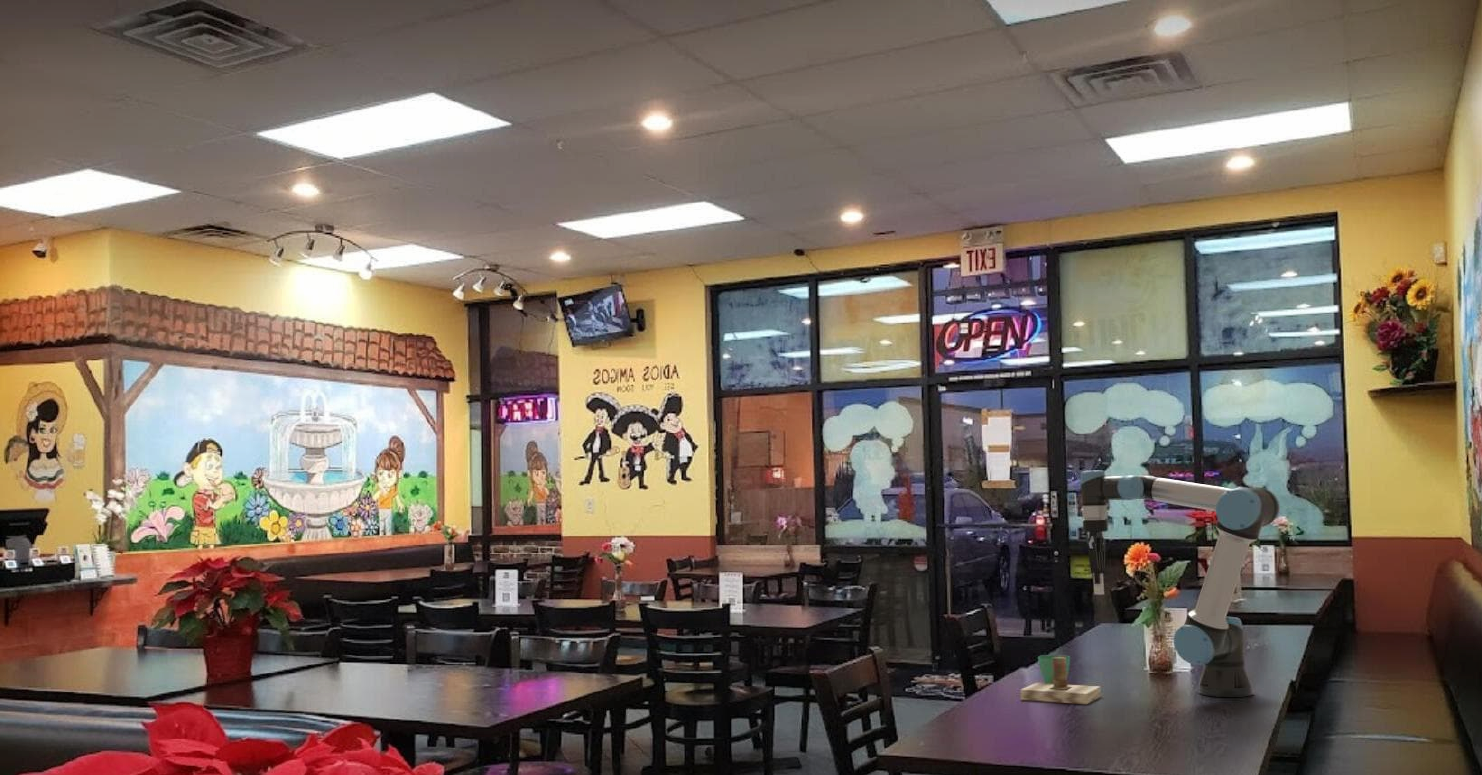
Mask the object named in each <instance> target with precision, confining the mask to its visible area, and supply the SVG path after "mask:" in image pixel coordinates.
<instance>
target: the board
mask: <svg viewBox="0 0 1482 775" xmlns="http://www.w3.org/2000/svg"><path fill="white" fill-rule="evenodd" d="M1067 687H1068V688H1067V689H1068V690H1058V689H1054V684H1049V683H1045V682H1034V683H1033V684H1030V685H1028V686H1026V687H1023V688H1021V689H1020V699H1021V701H1037V702H1047V703H1048V702H1049V703H1065V704H1078V705H1088V704H1090V703H1092V702H1093V701H1096V700H1098V699H1100V698H1101V697H1102V692H1101V691H1102V689H1101V686H1097V685H1096V686H1095V685H1084V684H1083V685H1081V684H1080V685H1079V684H1067Z"/></svg>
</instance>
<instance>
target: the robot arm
mask: <svg viewBox="0 0 1482 775" xmlns="http://www.w3.org/2000/svg"><path fill="white" fill-rule="evenodd" d="M1079 485H1080V486H1079V487H1080V494H1081V496H1080V497H1081V509H1080V512H1081V513H1082V518H1083V520H1082V531H1083V532H1085V533H1088V538H1087V542H1086V547H1087V554H1088V562H1089V568H1090V569H1089V570H1090V571H1089V573H1090V574H1092V577H1093V595H1100V596H1101V595H1105V587H1104V586H1105V585H1104V582H1105V581H1104V574H1106V573H1107V572H1106V544H1107V543H1106V542H1107V541H1106V539H1105V538H1104V536H1103V535H1104V534H1103V533H1104V532H1107V531H1109V525H1108V524H1109V523H1108V520H1107V518H1108V506H1107V501H1134V500H1146V501H1153V502H1159V503H1166V504H1171V505H1176V506H1177V505H1178V506H1182V507H1189V508H1194V509H1195V508H1196V509H1200V510H1206V511H1212V512H1215V515H1216V517H1217V521H1216V524H1215V528H1216V530H1217V532H1218V537H1217V540H1216V543H1215V545H1214V546H1215V547H1214V550H1213V552H1212V556H1211V558H1210V562H1209V565H1208V568H1207V571H1206V574H1205V578H1204V580H1203V583H1202V587H1201V590H1200V593H1199V595H1198V599H1197V602H1196V605H1195V608H1194V609H1191V610H1190V611H1188V612H1187V615H1186V618H1185V621H1184V624H1183V625H1182V626H1180V627H1179V628H1178V629H1177V630H1176V631H1175V633H1174V635H1173V645H1174V650H1175V651H1176V653H1177V655H1178V656H1179V658H1181V659H1182V660H1183V661H1185V663H1186V662H1187V663H1188V664H1191V665H1198V666H1199V665H1200V666H1201V665H1203V667H1202V672H1201V676H1200V678H1199V682H1198V693H1199V694H1201V695H1204V696H1209V697H1215V698H1216V697H1217V698H1241V697H1242V698H1243V697H1250V696H1252V695H1254V689H1253V688H1254V687H1253V685H1252V682H1251V680H1250V678H1249V674H1248V672H1247V669H1246V666H1245V665H1246V664H1245V646H1244V628H1243V623H1242V620H1241V619H1240V618H1239V617H1236V616H1235V617H1233V616H1227V614H1228V613H1229V609H1230V605H1231V603H1232V599H1233V595H1234V593H1235V590H1236V588H1237V584H1238V581H1239V578H1240V575H1241V572H1242V568H1243V566H1244V564H1245V560H1246V557H1247V553H1248V550H1249V547H1250V546H1251V545H1250V544H1252V543H1254V542H1256V541H1257V540H1258V539H1259V536H1260V532H1261V529H1262V527H1263V528H1264V527H1267V526H1268V525H1269V526H1270V525H1271V524H1272V523H1273V522H1274V521H1275V520H1276V519H1277V518H1278V515H1279V513H1280V502H1279V500H1278V497H1276V495H1275V494H1274V493H1273V492H1272V491H1271V490H1269V489H1267V488H1266V487H1265V488H1264V487H1262V486H1261V487H1260V486H1259V487H1257V486H1255V487H1254V486H1253V487H1246V486H1237V487H1234V488H1230V487H1222V486H1216V485H1211V484H1204V483H1203V484H1201V483H1195V482H1189V481H1182V480H1177V479H1176V480H1175V479H1170V478H1163V477H1155V476H1154V475H1150V474H1142V475H1133V474H1132V475H1131V474H1129V475H1128V474H1126V475H1112V476H1111V475H1110V476H1109V475H1106V474H1105V471H1104V470H1084V471H1081V472H1080V484H1079Z"/></svg>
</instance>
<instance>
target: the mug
mask: <svg viewBox="0 0 1482 775" xmlns="http://www.w3.org/2000/svg"><path fill="white" fill-rule="evenodd" d="M1053 657H1065V658H1066V671H1067V677H1068V676H1069V669H1070V662H1071V656H1069V655H1065V654H1064V655H1063V654H1044V655H1043V654H1042V655H1039V656H1038V657H1037V661H1038V665H1039V669H1040V673H1041V676H1042V678H1043V681H1044V683H1049V684H1054V682H1053V664H1052V658H1053Z"/></svg>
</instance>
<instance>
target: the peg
mask: <svg viewBox="0 0 1482 775" xmlns="http://www.w3.org/2000/svg"><path fill="white" fill-rule="evenodd" d="M1052 664H1053V682H1054V689H1058V690H1068V689H1067V688H1068V687H1067V685H1068V676H1067V671H1066V658H1065V657H1053V658H1052Z"/></svg>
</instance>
